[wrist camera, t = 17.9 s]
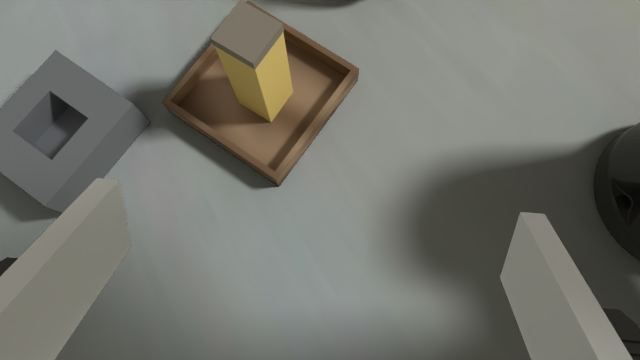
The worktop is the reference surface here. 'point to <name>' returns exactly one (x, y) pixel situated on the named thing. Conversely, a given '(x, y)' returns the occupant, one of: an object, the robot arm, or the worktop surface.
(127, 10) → the worktop surface
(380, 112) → the worktop surface
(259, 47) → the plug
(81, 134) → the grey block with hole
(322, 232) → the worktop surface
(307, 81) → the tray
